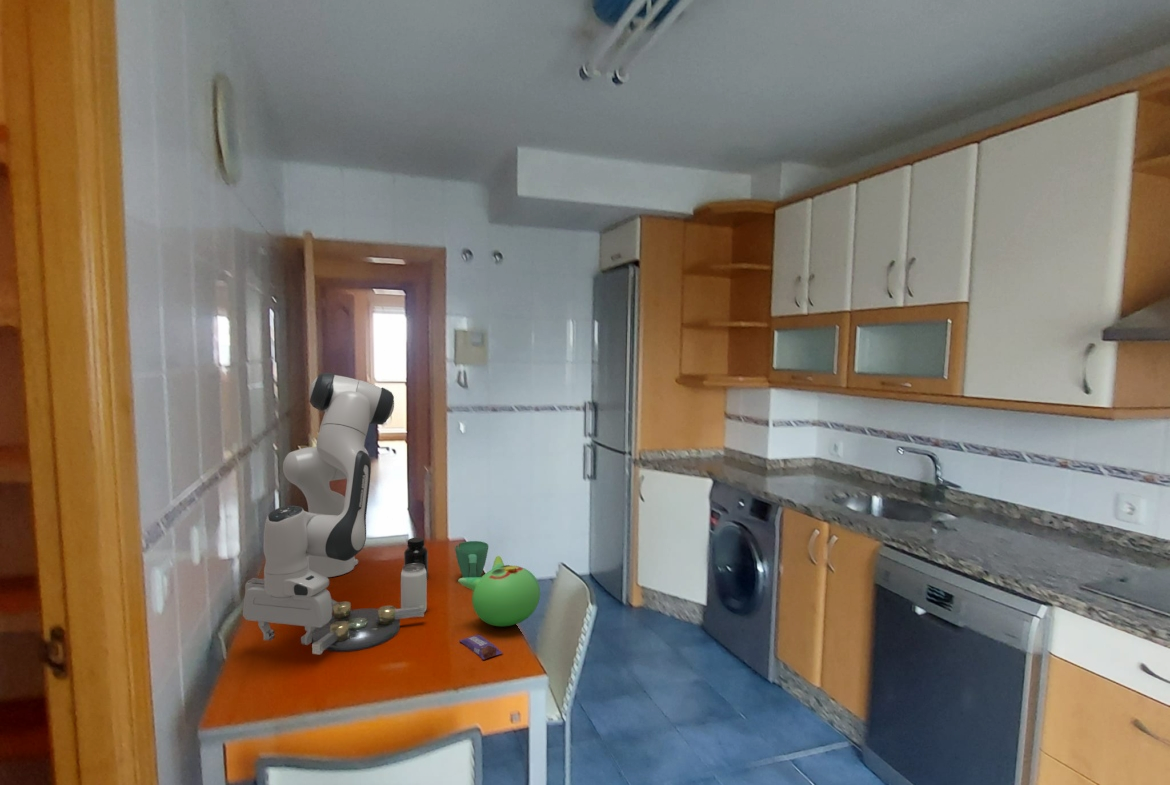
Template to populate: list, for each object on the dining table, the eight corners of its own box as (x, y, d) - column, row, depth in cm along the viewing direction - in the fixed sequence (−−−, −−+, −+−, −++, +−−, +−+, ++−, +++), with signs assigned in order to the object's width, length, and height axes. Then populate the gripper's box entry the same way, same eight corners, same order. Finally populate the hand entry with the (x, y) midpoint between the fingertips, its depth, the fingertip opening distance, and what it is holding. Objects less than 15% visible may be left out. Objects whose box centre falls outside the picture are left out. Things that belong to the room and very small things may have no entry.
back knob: (353, 616, 154) (353, 604, 153) (338, 621, 151) (338, 609, 150) (332, 604, 161) (332, 593, 161) (317, 609, 158) (317, 597, 158)
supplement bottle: (400, 578, 185) (400, 539, 184) (421, 573, 189) (421, 534, 189) (410, 584, 180) (410, 544, 179) (432, 579, 184) (431, 540, 184)
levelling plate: (296, 633, 148) (296, 620, 148) (372, 607, 163) (372, 596, 163) (337, 660, 135) (337, 647, 135) (416, 630, 150) (415, 618, 150)
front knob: (337, 632, 144) (336, 620, 144) (352, 634, 144) (352, 621, 143) (307, 654, 134) (307, 641, 134) (324, 656, 133) (324, 642, 133)
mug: (454, 574, 189) (454, 542, 188) (487, 571, 191) (487, 540, 191) (456, 591, 175) (455, 557, 174) (490, 589, 177) (490, 555, 176)
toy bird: (510, 643, 144) (511, 582, 143) (455, 627, 152) (455, 569, 151) (551, 615, 159) (552, 560, 159) (499, 602, 168) (499, 549, 167)
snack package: (458, 636, 144) (477, 630, 147) (458, 644, 144) (477, 638, 147) (483, 655, 135) (503, 648, 138) (483, 663, 135) (503, 657, 138)
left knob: (378, 625, 149) (378, 613, 148) (378, 618, 152) (378, 606, 152) (424, 619, 152) (424, 607, 152) (423, 613, 156) (423, 601, 156)
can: (419, 618, 157) (419, 571, 156) (396, 615, 158) (396, 569, 158) (430, 607, 163) (430, 563, 163) (408, 605, 165) (408, 561, 164)
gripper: (235, 582, 136) (236, 643, 137) (318, 589, 132) (319, 652, 133) (255, 572, 142) (256, 630, 143) (335, 579, 138) (336, 639, 139)
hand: (287, 641), depth 138 cm, fingers open, 8 cm apart
